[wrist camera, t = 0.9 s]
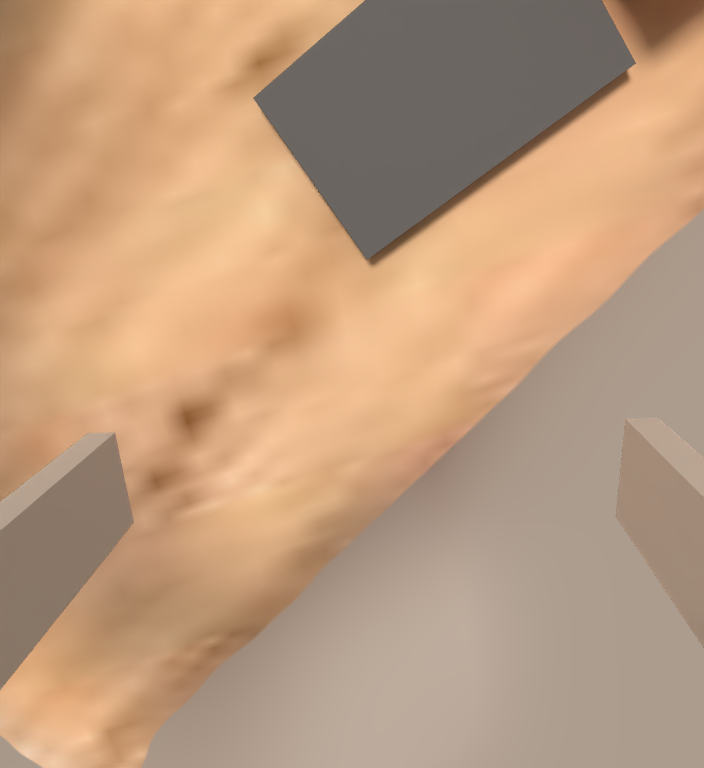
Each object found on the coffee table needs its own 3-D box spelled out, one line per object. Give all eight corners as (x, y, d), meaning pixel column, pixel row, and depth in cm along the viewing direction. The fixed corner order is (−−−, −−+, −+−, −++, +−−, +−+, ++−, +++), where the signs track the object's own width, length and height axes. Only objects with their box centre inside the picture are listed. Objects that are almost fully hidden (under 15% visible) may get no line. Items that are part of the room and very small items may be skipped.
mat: (259, 101, 37) (253, 98, 35) (520, -125, 32) (525, -140, 30) (368, 257, 39) (366, 259, 38) (626, 68, 34) (635, 63, 33)
